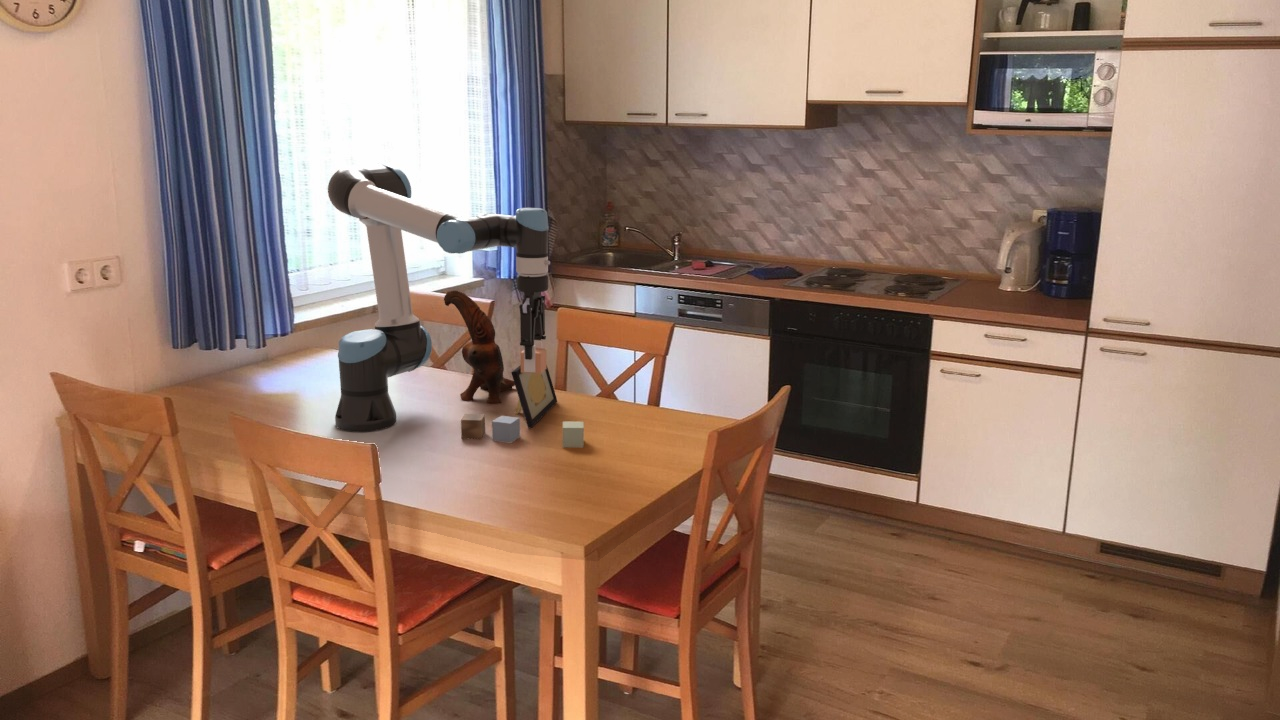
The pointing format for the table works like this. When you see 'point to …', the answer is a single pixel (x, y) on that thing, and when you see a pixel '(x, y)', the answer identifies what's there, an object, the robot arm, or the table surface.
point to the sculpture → (480, 350)
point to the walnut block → (473, 426)
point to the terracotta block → (540, 361)
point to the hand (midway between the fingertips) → (533, 368)
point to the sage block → (573, 434)
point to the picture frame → (534, 394)
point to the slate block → (506, 429)
